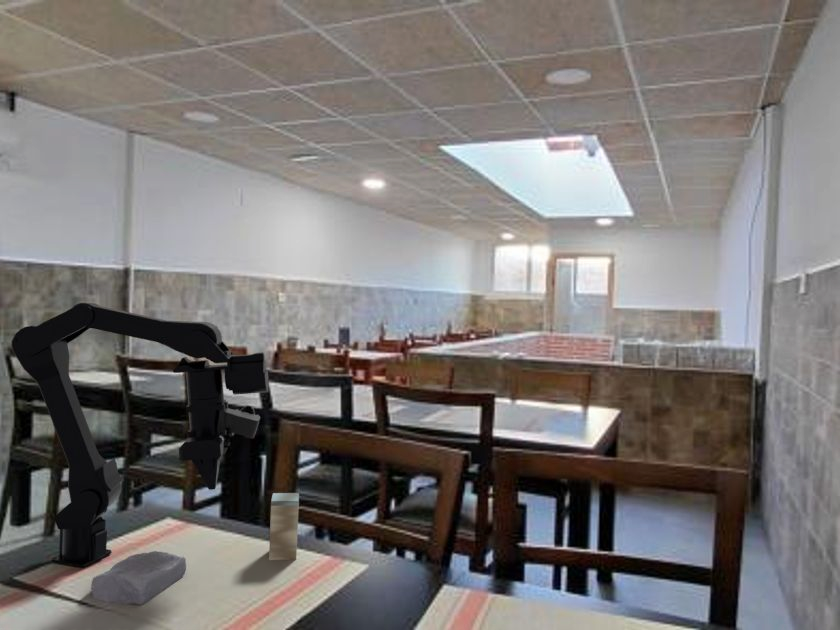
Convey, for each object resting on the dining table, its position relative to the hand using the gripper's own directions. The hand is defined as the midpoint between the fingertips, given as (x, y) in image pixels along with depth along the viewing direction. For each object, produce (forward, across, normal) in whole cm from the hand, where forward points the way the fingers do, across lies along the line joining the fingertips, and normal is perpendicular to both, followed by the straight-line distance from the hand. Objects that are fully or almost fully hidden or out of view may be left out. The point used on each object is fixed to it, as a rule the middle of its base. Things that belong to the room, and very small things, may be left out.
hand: (212, 489), depth 109 cm
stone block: (+11, -10, +10) cm, 18 cm away
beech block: (+13, 0, -11) cm, 17 cm away
